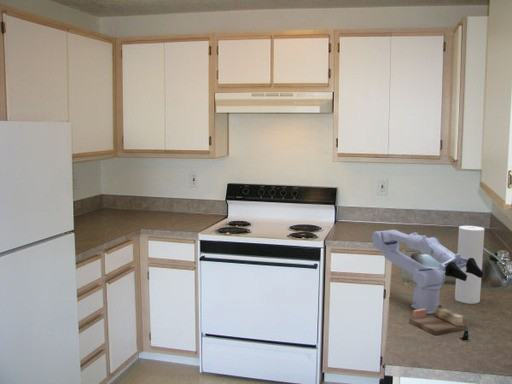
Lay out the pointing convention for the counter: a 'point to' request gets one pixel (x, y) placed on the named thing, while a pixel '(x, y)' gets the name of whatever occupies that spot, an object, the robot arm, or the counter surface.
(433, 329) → the board
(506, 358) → the counter surface
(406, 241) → the robot arm
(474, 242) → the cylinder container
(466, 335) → the sculpture
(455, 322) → the hinged leg
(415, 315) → the block
